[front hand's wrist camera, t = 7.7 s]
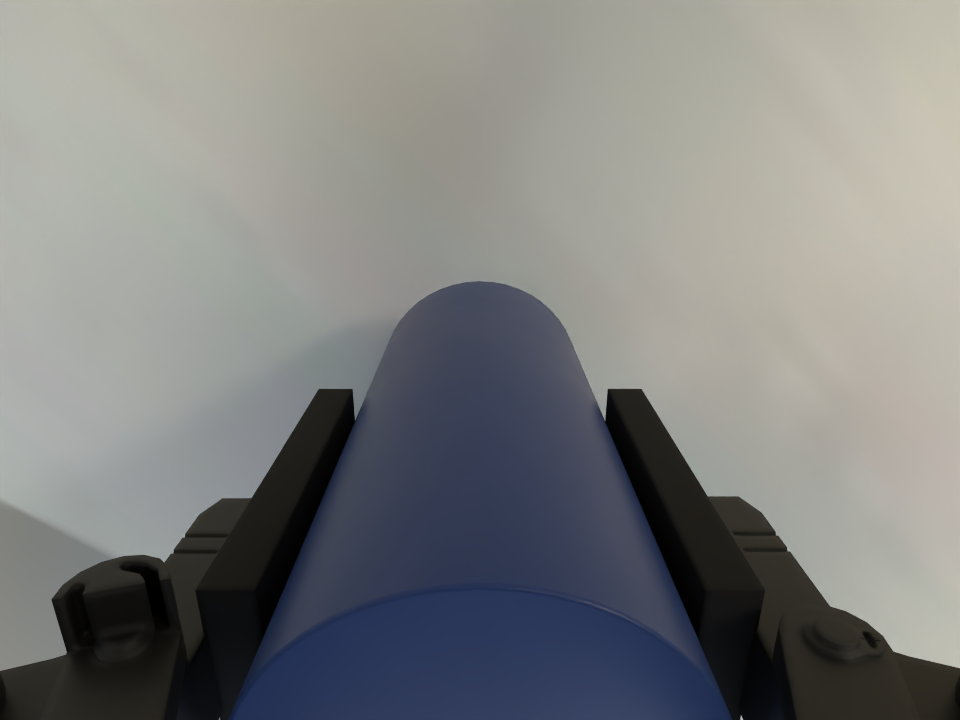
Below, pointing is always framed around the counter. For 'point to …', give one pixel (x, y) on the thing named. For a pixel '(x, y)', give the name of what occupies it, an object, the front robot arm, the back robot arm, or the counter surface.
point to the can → (480, 546)
